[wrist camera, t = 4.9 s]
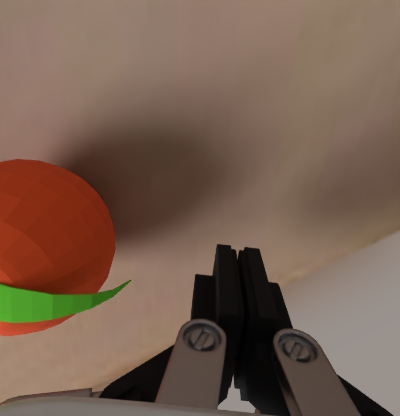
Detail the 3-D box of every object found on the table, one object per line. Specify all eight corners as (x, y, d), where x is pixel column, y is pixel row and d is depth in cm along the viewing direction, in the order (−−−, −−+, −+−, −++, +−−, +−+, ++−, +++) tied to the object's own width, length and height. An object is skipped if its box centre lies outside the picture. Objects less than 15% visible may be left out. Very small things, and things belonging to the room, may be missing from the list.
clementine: (162, 164, 15) (121, 233, 8) (143, 282, 17) (101, 405, 11) (-6, 129, 14) (-192, 171, 8) (1, 255, 17) (-133, 365, 10)
